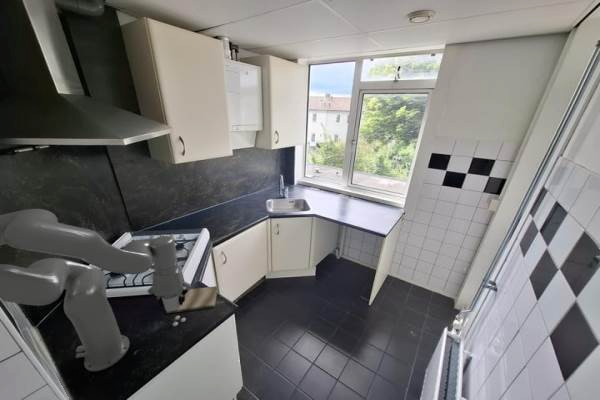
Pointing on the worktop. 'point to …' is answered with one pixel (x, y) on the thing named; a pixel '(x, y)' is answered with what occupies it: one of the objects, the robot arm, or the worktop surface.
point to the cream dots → (177, 319)
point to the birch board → (198, 299)
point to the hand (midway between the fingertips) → (172, 303)
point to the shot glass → (171, 302)
